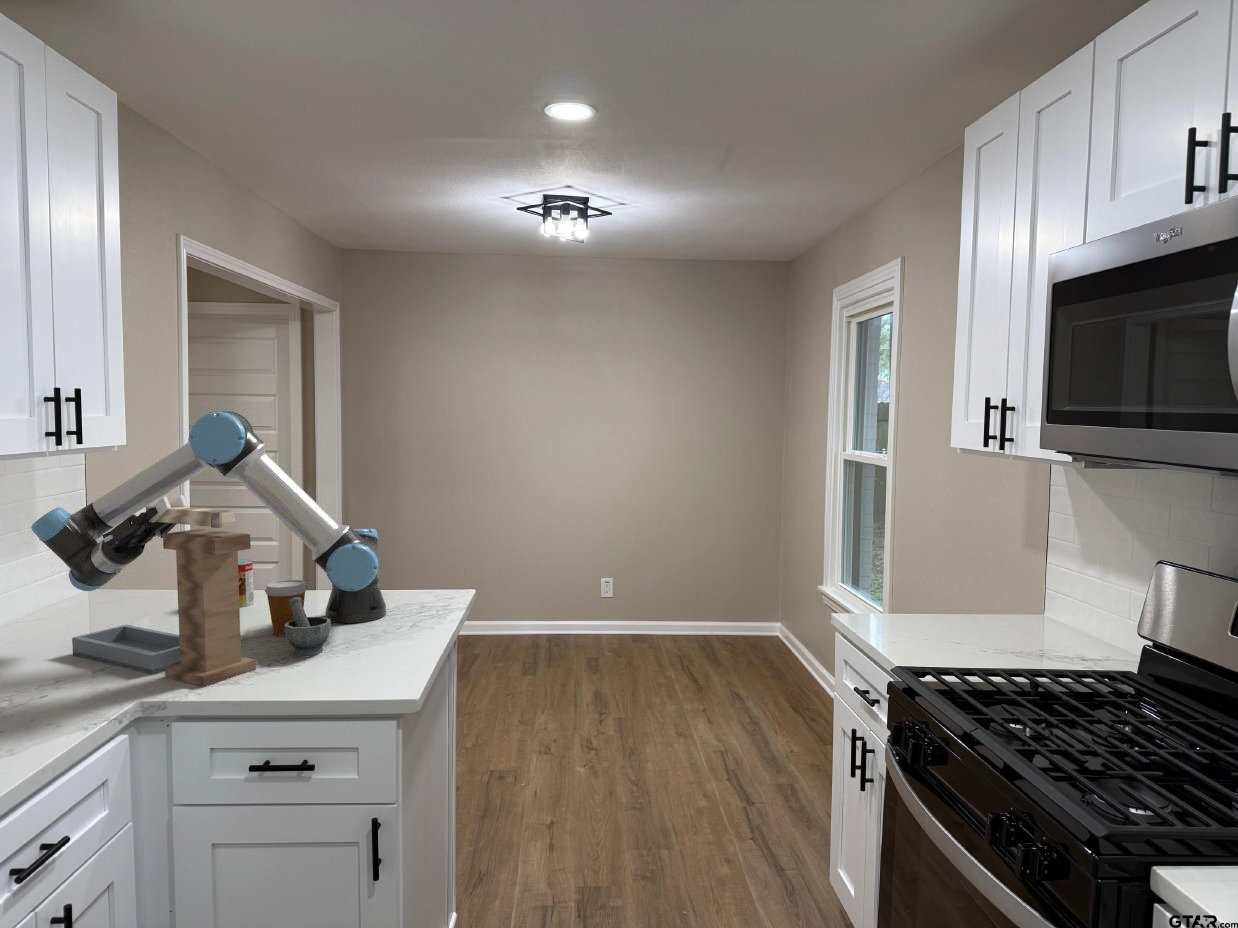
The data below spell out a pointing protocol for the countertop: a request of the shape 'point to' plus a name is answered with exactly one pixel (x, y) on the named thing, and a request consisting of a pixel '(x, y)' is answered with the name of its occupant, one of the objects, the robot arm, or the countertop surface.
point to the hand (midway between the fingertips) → (175, 501)
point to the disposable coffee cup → (283, 601)
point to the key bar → (198, 517)
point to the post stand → (208, 605)
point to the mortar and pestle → (306, 630)
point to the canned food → (245, 582)
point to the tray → (130, 648)
